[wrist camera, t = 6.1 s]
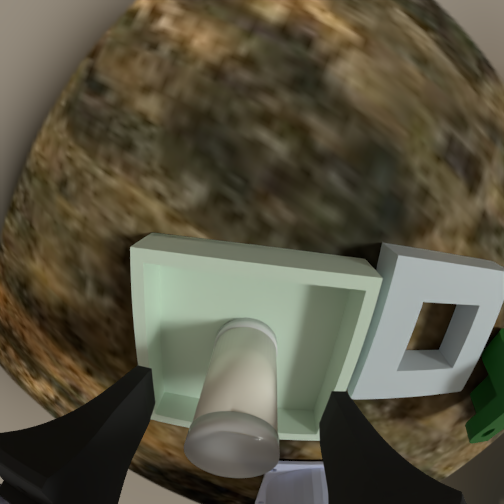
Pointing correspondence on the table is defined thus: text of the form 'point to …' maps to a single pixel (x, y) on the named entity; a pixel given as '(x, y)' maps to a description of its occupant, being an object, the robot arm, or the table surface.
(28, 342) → the table surface
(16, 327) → the table surface
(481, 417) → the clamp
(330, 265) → the parts tray
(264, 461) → the cylinder
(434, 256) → the grey square frame
